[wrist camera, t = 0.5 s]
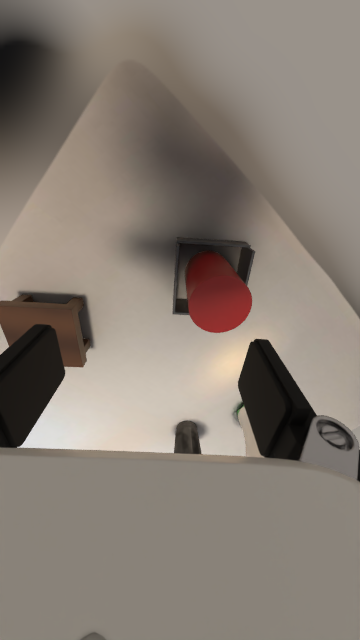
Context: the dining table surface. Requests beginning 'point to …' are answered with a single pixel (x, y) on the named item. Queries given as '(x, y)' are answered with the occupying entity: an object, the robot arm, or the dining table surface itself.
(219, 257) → the can
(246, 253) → the dark square frame
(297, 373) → the dining table surface
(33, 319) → the stool
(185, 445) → the beverage cup
